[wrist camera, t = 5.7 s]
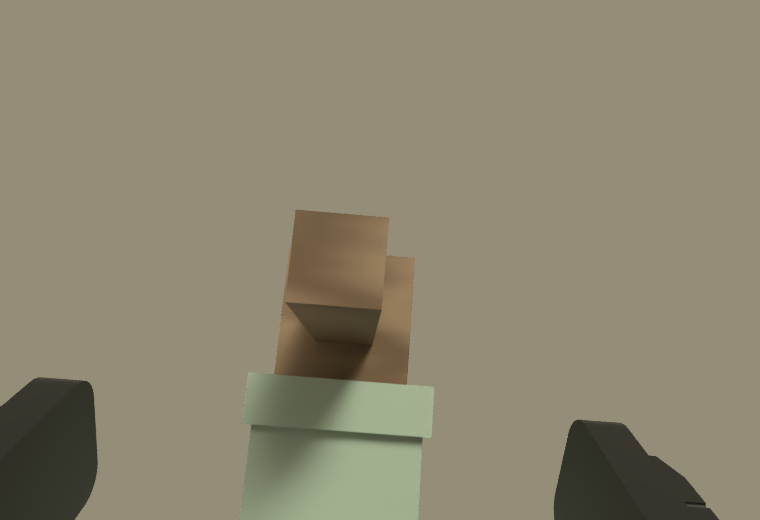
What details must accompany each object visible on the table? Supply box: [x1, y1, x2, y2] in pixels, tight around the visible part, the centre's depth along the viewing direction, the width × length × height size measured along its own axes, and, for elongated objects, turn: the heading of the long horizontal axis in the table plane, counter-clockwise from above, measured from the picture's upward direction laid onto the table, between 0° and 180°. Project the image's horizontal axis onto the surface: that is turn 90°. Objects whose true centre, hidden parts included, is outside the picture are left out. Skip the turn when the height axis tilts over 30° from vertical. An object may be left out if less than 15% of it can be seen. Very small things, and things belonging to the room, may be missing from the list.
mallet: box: [274, 210, 415, 385], centre depth 24 cm, size 6×17×6 cm, turn 2°
